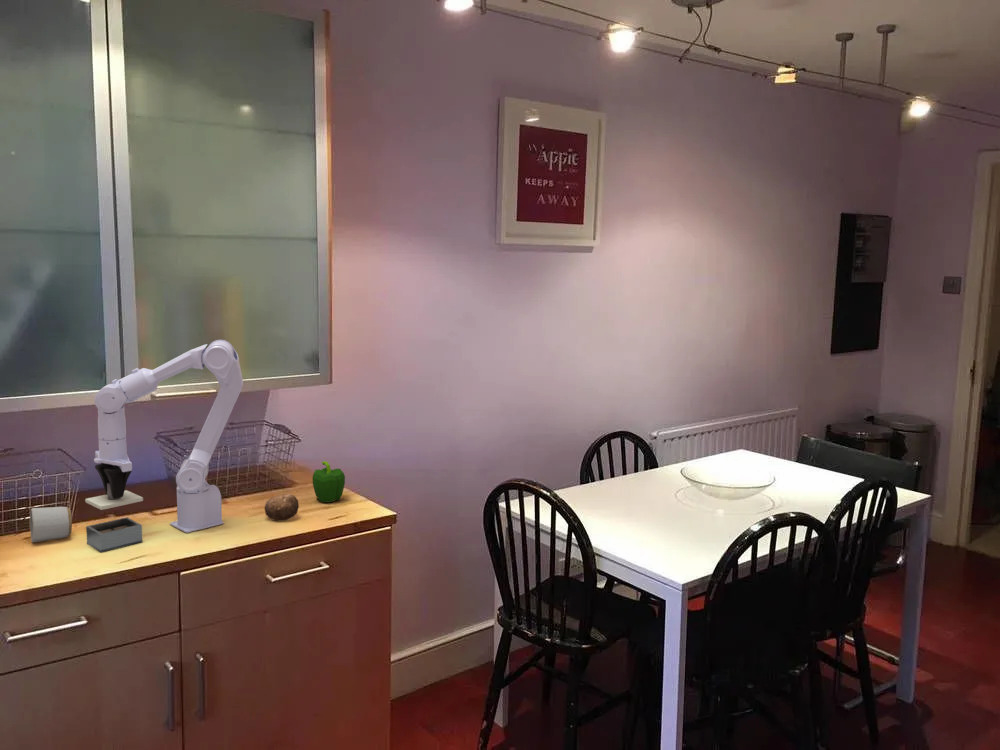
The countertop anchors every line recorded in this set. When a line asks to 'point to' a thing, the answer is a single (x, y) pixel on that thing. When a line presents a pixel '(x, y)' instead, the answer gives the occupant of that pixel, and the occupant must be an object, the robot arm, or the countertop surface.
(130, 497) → the lid
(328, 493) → the bell pepper
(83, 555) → the countertop surface
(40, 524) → the ceramic mug
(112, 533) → the tin
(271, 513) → the brown potato
